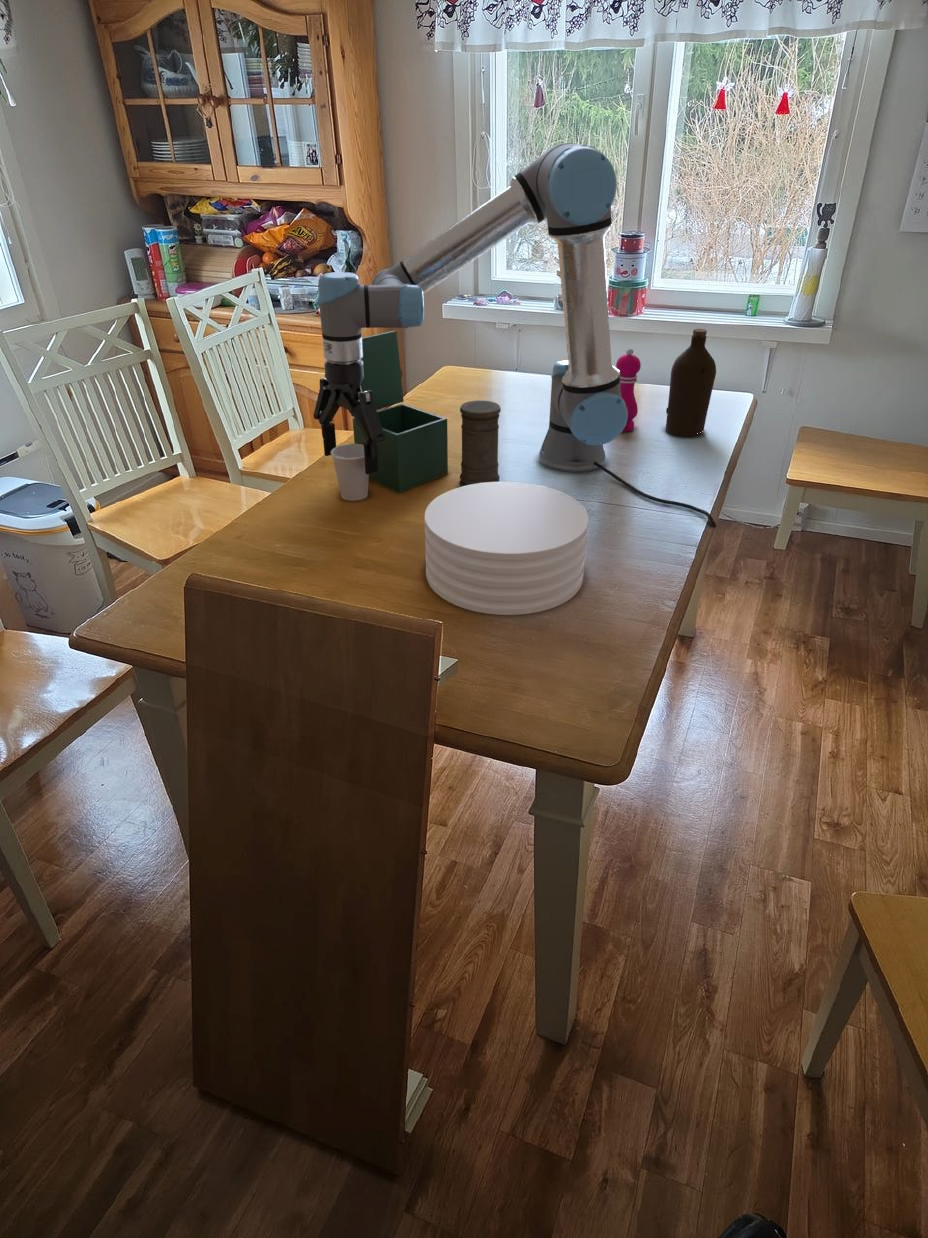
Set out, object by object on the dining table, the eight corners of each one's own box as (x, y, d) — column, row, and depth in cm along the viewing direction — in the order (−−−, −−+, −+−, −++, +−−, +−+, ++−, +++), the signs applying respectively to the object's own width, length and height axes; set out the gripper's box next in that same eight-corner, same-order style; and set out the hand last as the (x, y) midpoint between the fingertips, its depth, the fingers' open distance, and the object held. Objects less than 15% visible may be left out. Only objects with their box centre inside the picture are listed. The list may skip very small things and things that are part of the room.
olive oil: (714, 432, 202) (732, 330, 188) (688, 442, 196) (704, 337, 182) (680, 421, 208) (695, 322, 195) (654, 430, 203) (668, 329, 189)
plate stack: (609, 600, 134) (617, 540, 127) (450, 626, 127) (449, 564, 121) (548, 528, 156) (552, 474, 150) (410, 547, 149) (407, 491, 143)
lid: (396, 330, 172) (383, 328, 175) (343, 342, 164) (330, 340, 167) (403, 401, 180) (390, 398, 183) (353, 416, 171) (340, 413, 174)
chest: (448, 473, 179) (447, 418, 172) (399, 492, 170) (396, 435, 163) (404, 456, 188) (402, 403, 181) (356, 473, 179) (352, 418, 172)
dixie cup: (329, 491, 171) (325, 446, 165) (366, 484, 174) (363, 440, 168) (341, 506, 165) (337, 460, 159) (379, 499, 167) (376, 454, 162)
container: (496, 497, 168) (498, 414, 159) (455, 493, 170) (454, 411, 160) (503, 480, 176) (505, 400, 166) (463, 477, 177) (463, 397, 167)
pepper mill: (639, 426, 205) (649, 347, 194) (628, 434, 200) (638, 353, 189) (613, 421, 209) (622, 343, 198) (602, 429, 204) (610, 349, 193)
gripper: (289, 350, 159) (300, 451, 170) (369, 377, 144) (375, 485, 156) (320, 343, 163) (328, 442, 175) (400, 369, 149) (404, 475, 160)
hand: (350, 463), depth 165 cm, fingers open, 13 cm apart
